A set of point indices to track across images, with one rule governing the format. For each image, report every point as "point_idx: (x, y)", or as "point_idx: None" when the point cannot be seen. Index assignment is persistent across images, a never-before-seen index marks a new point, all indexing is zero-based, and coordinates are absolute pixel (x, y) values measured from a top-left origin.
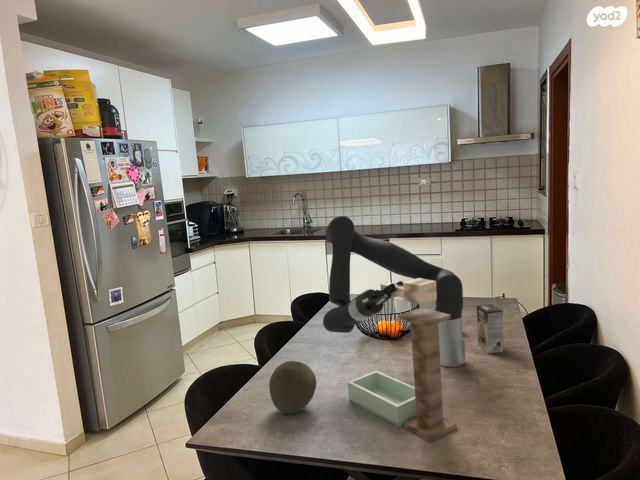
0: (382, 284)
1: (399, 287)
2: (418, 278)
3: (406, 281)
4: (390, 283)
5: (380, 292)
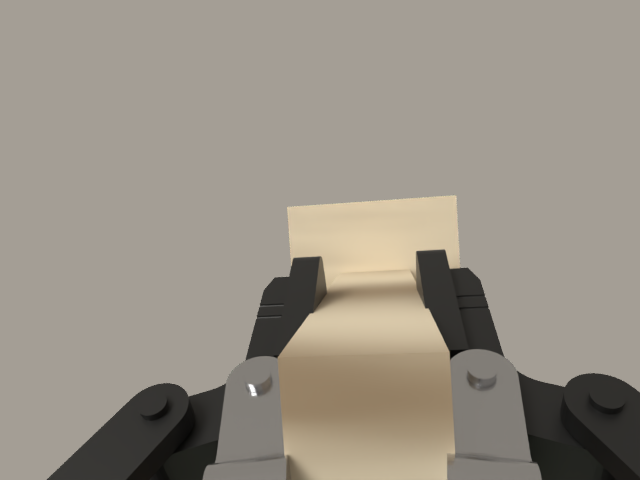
0: (440, 337)
1: (396, 285)
2: (302, 206)
3: (421, 198)
4: (313, 329)
5: (560, 402)
